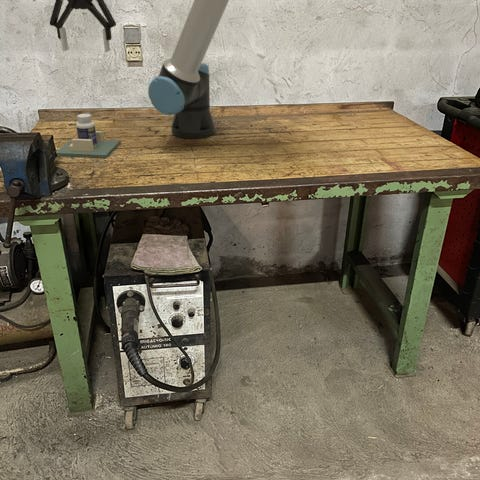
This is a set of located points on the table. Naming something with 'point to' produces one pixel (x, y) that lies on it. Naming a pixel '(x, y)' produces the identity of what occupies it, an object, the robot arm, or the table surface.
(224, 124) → the table surface
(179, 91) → the robot arm
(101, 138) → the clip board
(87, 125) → the pill bottle
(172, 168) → the table surface
